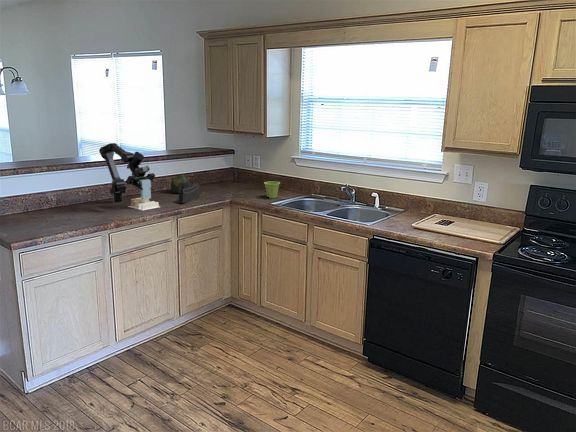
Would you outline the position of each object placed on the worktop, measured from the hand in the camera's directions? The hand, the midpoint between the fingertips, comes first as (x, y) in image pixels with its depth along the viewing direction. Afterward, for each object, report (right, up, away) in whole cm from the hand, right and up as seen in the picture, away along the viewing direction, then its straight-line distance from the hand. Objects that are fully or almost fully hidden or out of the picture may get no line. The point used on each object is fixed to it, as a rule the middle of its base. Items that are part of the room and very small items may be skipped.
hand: (147, 189), depth 286 cm
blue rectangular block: (-1, -6, +2) cm, 7 cm away
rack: (-3, -12, +5) cm, 14 cm away
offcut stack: (-6, -10, +7) cm, 14 cm away
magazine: (+20, -6, +35) cm, 41 cm away
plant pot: (+77, -3, +52) cm, 93 cm away
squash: (+7, +1, +61) cm, 61 cm away
